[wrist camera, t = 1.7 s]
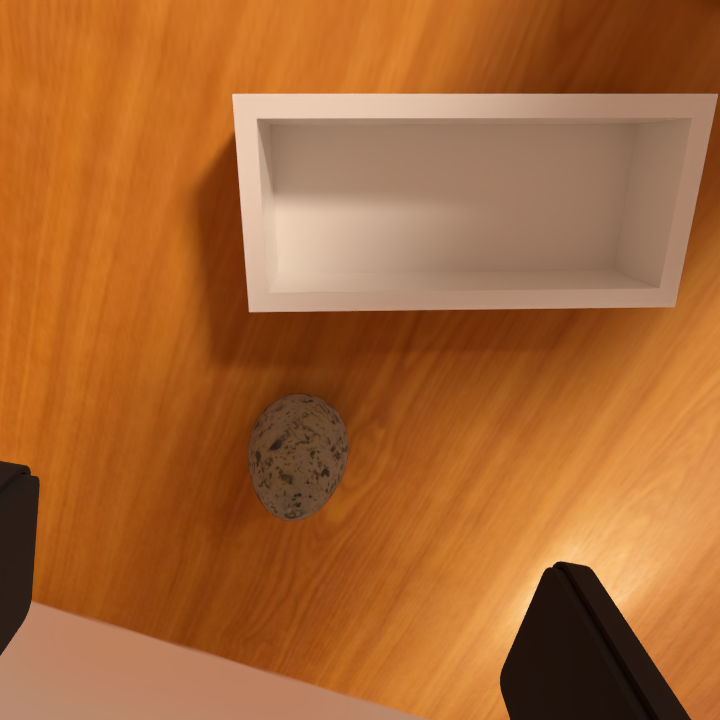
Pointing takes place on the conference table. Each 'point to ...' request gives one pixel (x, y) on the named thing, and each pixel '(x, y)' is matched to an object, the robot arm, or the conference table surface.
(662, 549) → the conference table surface
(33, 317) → the conference table surface
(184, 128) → the conference table surface
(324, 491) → the decorative egg
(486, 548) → the conference table surface
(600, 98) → the open rectangular box
